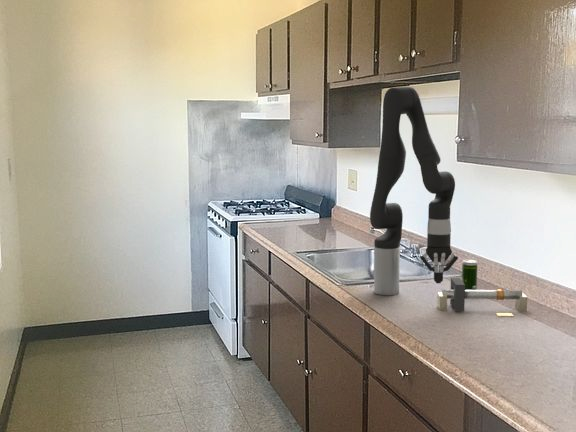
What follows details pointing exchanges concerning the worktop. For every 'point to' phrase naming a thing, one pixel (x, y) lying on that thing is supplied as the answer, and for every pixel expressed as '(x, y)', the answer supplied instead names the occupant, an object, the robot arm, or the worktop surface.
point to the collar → (458, 294)
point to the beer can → (469, 274)
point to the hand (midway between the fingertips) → (438, 282)
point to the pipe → (486, 294)
